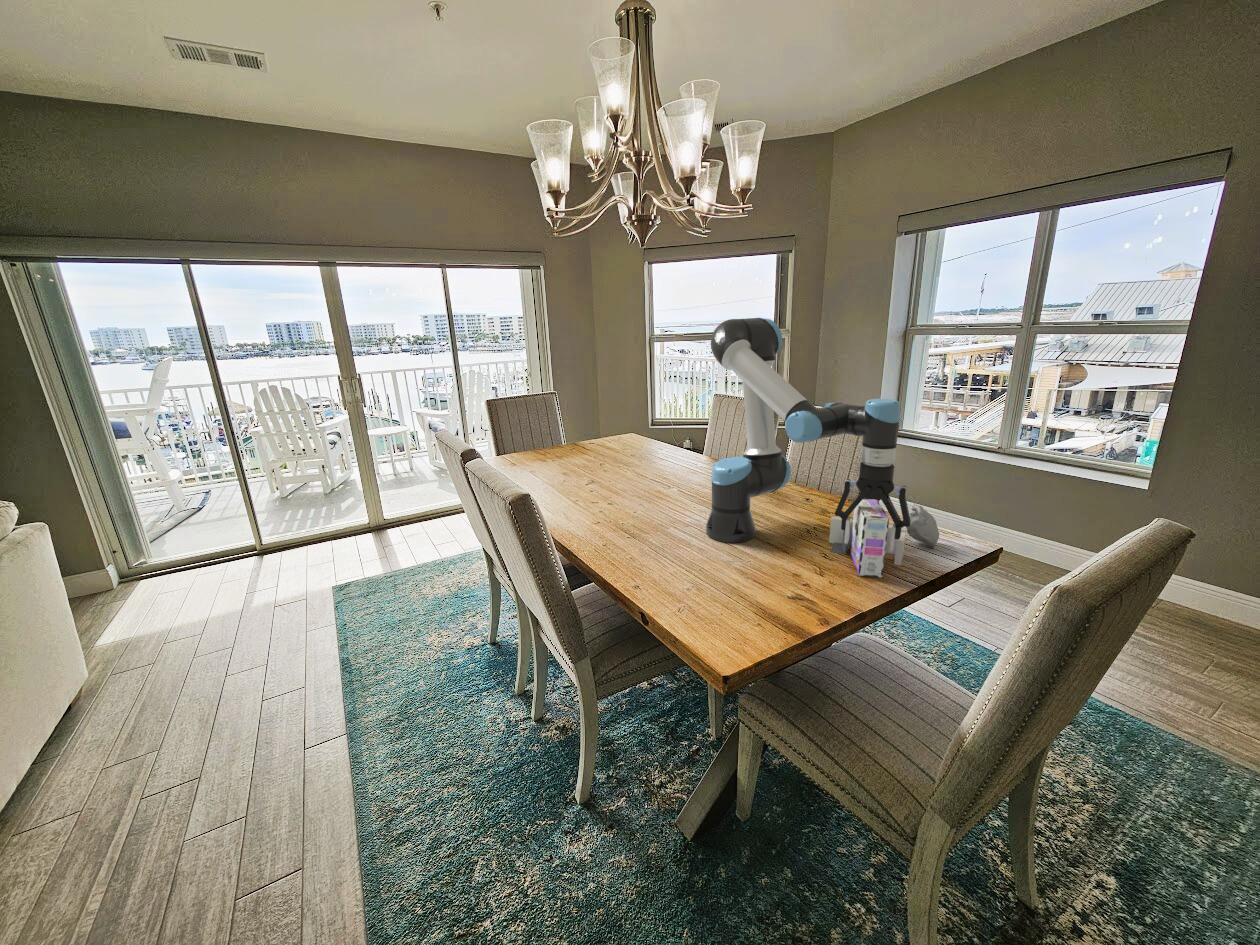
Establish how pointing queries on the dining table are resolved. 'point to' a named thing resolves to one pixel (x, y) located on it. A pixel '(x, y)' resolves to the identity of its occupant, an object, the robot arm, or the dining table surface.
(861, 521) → the candy box
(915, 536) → the heart
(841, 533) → the shelf
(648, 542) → the dining table surface
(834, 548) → the bookend
